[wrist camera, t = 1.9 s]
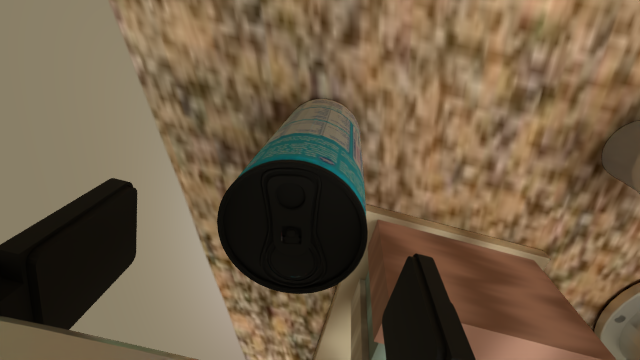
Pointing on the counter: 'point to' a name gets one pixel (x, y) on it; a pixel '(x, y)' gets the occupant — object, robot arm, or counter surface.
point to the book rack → (458, 295)
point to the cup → (624, 155)
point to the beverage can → (300, 204)
